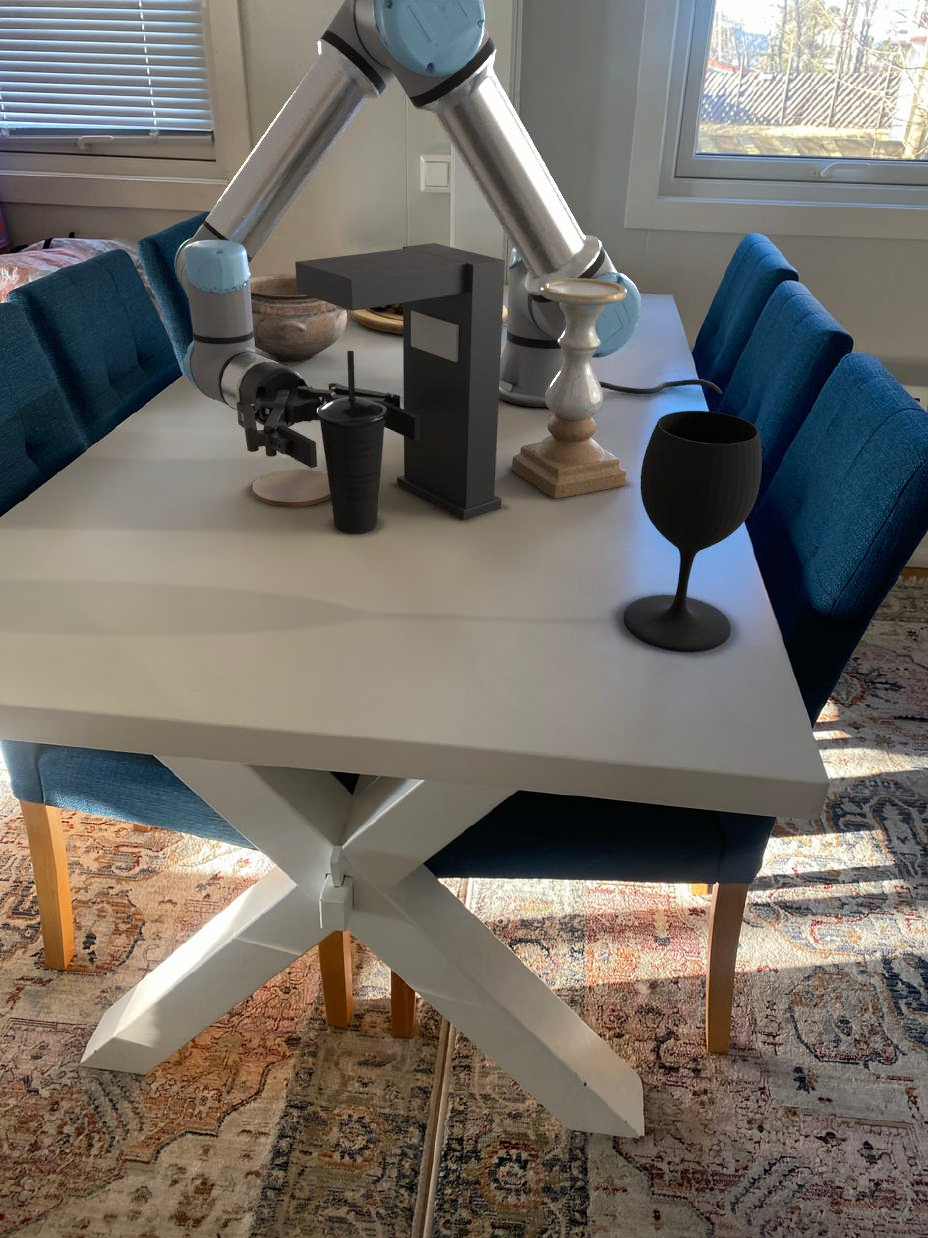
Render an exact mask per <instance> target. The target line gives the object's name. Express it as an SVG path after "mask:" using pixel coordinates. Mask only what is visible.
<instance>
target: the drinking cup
mask: <svg viewBox="0 0 928 1238" xmlns="http://www.w3.org/2000/svg"><path fill="white" fill-rule="evenodd" d="M346 353H347V354H346V355H347V382H348V383H347V387H348V391H349V397H343V398H339V399H336V400H333V401H331V402H328V403H326V402H325V403H324V404H323V405H321V406H320V407H319V408H318V409H317V417H318V419H319V420H320V421H319V423H320V430H321V431H320V432H321V438H322V445H323V452H324V459H325V467H326V474H328V482H329V489H330V496H331V498H330V503H331V509H332V516H333V517H332V518H333V524H334V528H335V529H336V530H337V531H339V532H341V533H344V534H350V535H361V534H366V533H369V532H371V531H373V530H374V529H375V528H376V527H377V525H378V513H379V500H380V499H379V498H380V485H381V474H382V461H383V449H384V438H385V437H384V436H385V427H384V425H385V419H386V418H387V416H388V410H387V408H386V407H385V406H384V405H382V404H379V403H377V402H374V401H372V400H369V399H366V398H361V397H355V388H356V385H355V383H356V382H355V380H356V379H355V351H354V350H347V351H346Z"/></svg>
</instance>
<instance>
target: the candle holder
mask: <svg viewBox="0 0 928 1238" xmlns="http://www.w3.org/2000/svg"><path fill="white" fill-rule="evenodd" d="M540 293H541V294H542V296H544V297H545V298H547V299H550V300H553V301H557V302H559V304H560V308H561V310H562V311H563V313H564V315H565V319H566V326H565V329H564V331H563V333H562V334H561V336H560V337H559V338H558V340H557V342H558V344H559V345H560V346H561V350H562V352H563V355H564V361H563V364H562V366H561V368H560V369H559V371H558V373H557V374H556V375H555V377H554V378H553V379H552V381H551V382H550V384H549V385H548V387H547V390H546V393H545V402H546V405H547V407H546V408H548V409H549V411H550V412H551V413H553V415H552V416H551V417H550V418H549V420H548V422H547V431H548V432H549V433H550V434H551V435H549V436H547V437H546V438H544V439H542V440H541V441H537V442H533V443H529V444H524V445H522V446H521V447H520V451H519V453H517V454H515V455H513V456H512V461H511V469H512V471H513V472H514V473H516V474H517V475H519V476H520V477H521V478H523V479H524V480H525V481H527V482H528V483H530V484H531V485H533V486H534V487H536V488H537V489H539V490H540V491H541V492H543V493H544V494H545V495H548V496H549V497H550V498H553V499H561V498H567V497H568V498H569V497H572V496H573V497H574V496H578V495H582V494H587V493H593V492H597V491H603V490H604V491H605V490H608V489H612V488H617V487H622V486H625V485H626V476H627V471H626V470H625V469H623V468H622V467H621V466H620V460H619V459H618V457H617V456H615V455H614V454H612V453H611V452H609V451H608V450H606V449H604V448H603V447H601V445H600V444H599V443H598V442H597V441H596V440H594V439H593V438H592V436H593V435H594V434H595V433H596V430H597V423H596V421H595V419H594V418H593V417H592V416H594V415H595V414H597V413H598V412H599V411H600V410H601V408H602V407H603V404H604V398H605V397H604V391H603V388H602V387H601V385H600V383H599V381H600V380H599V379H598V378H597V376H596V374H595V372H594V369H593V365H592V359H593V358H592V356H593V354H594V353H595V351H596V348H597V347H599V346H600V343H601V342H600V340H599V338H598V336H597V334H596V331H595V322H596V319H597V317H598V316H599V315H600V313H601V312H602V311H603V309H604V307H605V304H612V303H617V302H620V301H622V300H624V299H625V297H626V295H627V290H626V288H625V287H624V286H622V285H620V284H617V283H613V282H609V281H604V280H596V279H584V278H565V279H555V280H550V281H546V282H544V283H543V284H542V285H541V286H540Z"/></svg>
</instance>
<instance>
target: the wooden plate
mask: <svg viewBox="0 0 928 1238" xmlns="http://www.w3.org/2000/svg"><path fill="white" fill-rule="evenodd" d="M349 315H350V316H351V318H352V319H353V320H354V321H356V322H357V323H359V324H360V325H363V326H365V327H367V328H371V329H374V330H378V331H381V332H385V333H386V332H387V333H391V334H397V335H398V334H399V335H403V303H399V304H392V305H386V306H380V307H374V308H367V309H361V310H355V311H351V310H350V311H349ZM507 316H508V307H506V306H505V304H503V316H502V325H503V324H504V323H505V322H507Z"/></svg>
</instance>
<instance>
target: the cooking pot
mask: <svg viewBox="0 0 928 1238" xmlns="http://www.w3.org/2000/svg"><path fill="white" fill-rule="evenodd" d="M250 291H251V306H252V321H253V330H254V341H255V349H256V348H257V349H258V350H260V351H262V352H264V353H265V354H267V355H270V356H272V357H273V358H275V359H277V360H279V361H284V362H303V361H308V360H311V359H313V358H314V357H315V356H316V355H318V354H320V353H322V352H323V351H325V350H327V349H328V348H329V347H331V346H333V345H334V344H335V343H336V342H338V340H339V339H340V338H341V337H342V336H343V334H344V332H345V329H346V326H347V322H348V314H347V310H339V309H337V308H336V305H334V304H331V303H328V302H325V301H322V300H319V299H316V298H313V297H310V296H307V295H304V294H302V293H299V292H297V283H296V273H273V274H263V275H255V276H251V277H250Z"/></svg>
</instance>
